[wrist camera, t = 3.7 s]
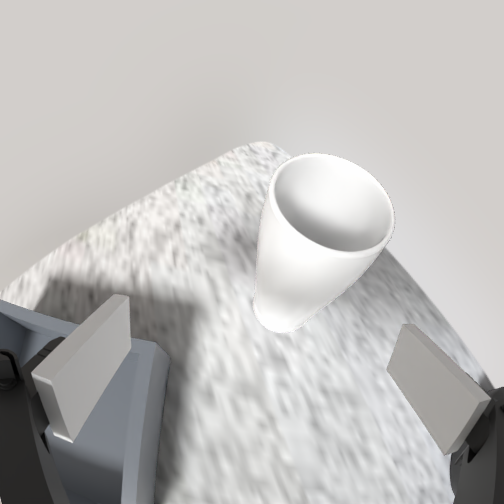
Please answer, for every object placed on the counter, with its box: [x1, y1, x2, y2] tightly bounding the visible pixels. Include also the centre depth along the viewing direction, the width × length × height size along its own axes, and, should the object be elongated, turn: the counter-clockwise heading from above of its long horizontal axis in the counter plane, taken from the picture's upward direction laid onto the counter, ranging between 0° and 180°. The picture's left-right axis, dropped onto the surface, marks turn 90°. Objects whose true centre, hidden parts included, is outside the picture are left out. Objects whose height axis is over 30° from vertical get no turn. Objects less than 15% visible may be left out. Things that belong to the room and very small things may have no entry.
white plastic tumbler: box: [253, 153, 395, 333], centre depth 20 cm, size 7×7×15 cm
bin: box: [0, 300, 171, 504], centre depth 16 cm, size 16×16×6 cm
